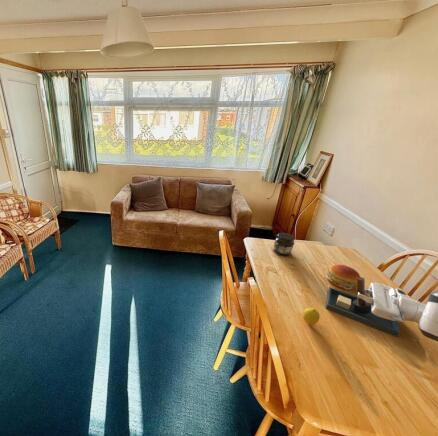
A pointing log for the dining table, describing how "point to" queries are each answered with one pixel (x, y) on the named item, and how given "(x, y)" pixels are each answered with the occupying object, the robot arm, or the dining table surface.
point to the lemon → (311, 316)
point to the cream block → (343, 302)
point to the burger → (342, 277)
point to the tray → (366, 319)
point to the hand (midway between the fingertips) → (357, 291)
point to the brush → (360, 304)
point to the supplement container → (284, 244)
